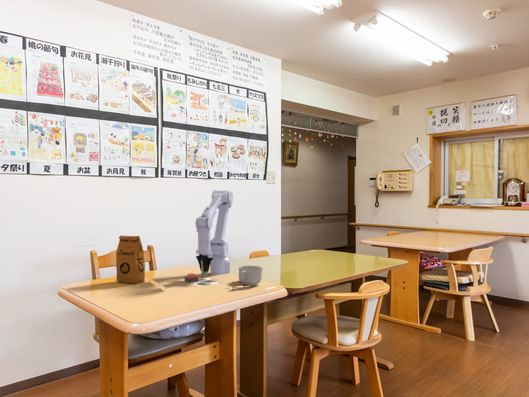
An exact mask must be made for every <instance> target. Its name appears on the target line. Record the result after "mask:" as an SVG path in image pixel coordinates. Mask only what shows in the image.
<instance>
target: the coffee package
mask: <svg viewBox="0 0 529 397" xmlns="http://www.w3.org/2000/svg"><path fill="white" fill-rule="evenodd" d="M118 239H119V240H118V244H117V249H116V251H115V266H116V267H115V268H116V282H117V283H123V284H129V285H131V284H134V285H138V284H141V283H144V282H146V279H145V278H146V263H145V262H146V261H145V252H144V249H143V248H144V247H143V245H142V241H141V237H140V235H133V236H132V235H119V237H118Z"/></svg>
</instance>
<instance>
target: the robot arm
mask: <svg viewBox="0 0 529 397" xmlns="http://www.w3.org/2000/svg"><path fill="white" fill-rule="evenodd" d="M233 199H234V194H233V192H232V190H230V189H229V190H225V189H224V190H213V191H212V192H211V202H210V204H209V205H208V206H206V207H205V208H204V210H203V211H202V213H201V215H200V216H198V217H197V218H196V219H195V228H196V232H197V249H195V250H196V251H195V254H196V256H195V258H196V260H197V263H198V266H199V269H200V271H201V260H202V263H203V270H204V272H208V273H210V275H214V276H215V275H216V276H217V275H218V276H219V275H226V274H230V273H231V269H230V268H231V265H230V264H231V262H230V259H229V257H227V256H228V254H229V244H228V242H227V241H226V240H225V233H226V227H227V222H228V216H229V209H230V208H232V206H233ZM217 209H218V212H217ZM217 214H218V215H217ZM216 215H217V218H216V224H215V230H214V236H213V238H211V229H212V227H213V224H214V223H213V222H214V219H215V216H216ZM209 271H210V272H209Z"/></svg>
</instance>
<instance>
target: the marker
mask: <svg viewBox="0 0 529 397" xmlns="http://www.w3.org/2000/svg"><path fill="white" fill-rule="evenodd" d="M200 271H201V273H200V274H201V276H208V275H209V274H208V273H209V271H208V272H204V270H203V263H202V260H201V270H200Z"/></svg>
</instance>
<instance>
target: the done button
mask: <svg viewBox="0 0 529 397" xmlns="http://www.w3.org/2000/svg"><path fill="white" fill-rule="evenodd" d="M186 277H187V278H188V279H192V278H196V277H197V275H196V273H194V272H193V273H187V275H186Z"/></svg>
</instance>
